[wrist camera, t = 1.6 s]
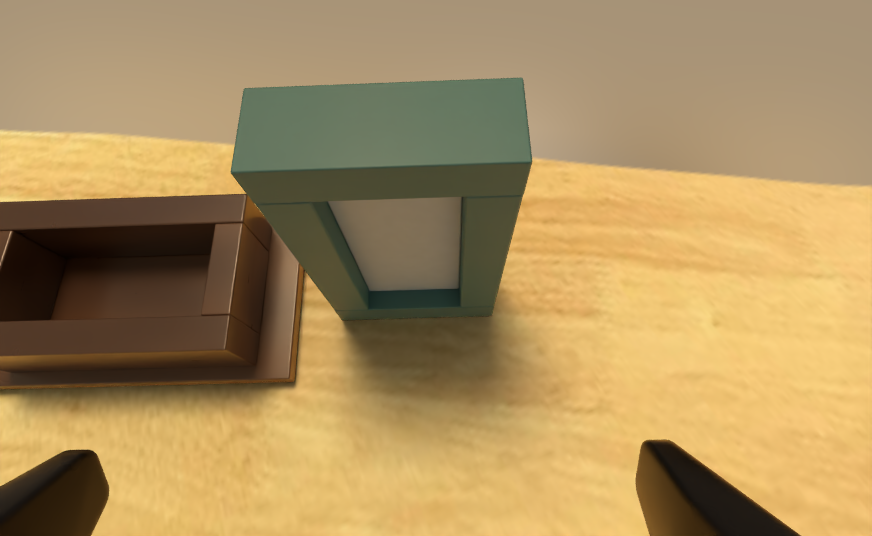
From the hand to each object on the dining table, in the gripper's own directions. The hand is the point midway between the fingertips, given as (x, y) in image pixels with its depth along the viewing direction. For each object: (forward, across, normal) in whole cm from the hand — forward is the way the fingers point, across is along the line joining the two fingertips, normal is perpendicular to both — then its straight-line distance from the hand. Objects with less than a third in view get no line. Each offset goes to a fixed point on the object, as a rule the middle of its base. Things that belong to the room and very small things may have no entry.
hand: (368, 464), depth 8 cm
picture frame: (+15, 0, +4) cm, 15 cm away
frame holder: (+15, +12, +4) cm, 20 cm away
